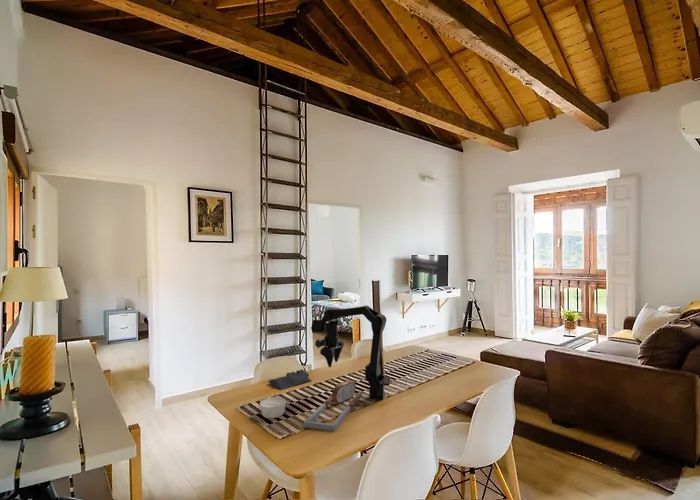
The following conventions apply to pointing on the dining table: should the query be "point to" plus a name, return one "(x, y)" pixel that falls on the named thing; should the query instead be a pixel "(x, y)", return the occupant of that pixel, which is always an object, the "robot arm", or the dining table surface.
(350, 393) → the tin
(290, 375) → the dark slate chunk
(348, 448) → the dining table surface
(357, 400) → the pair of brown bars
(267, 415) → the ramekin
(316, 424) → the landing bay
